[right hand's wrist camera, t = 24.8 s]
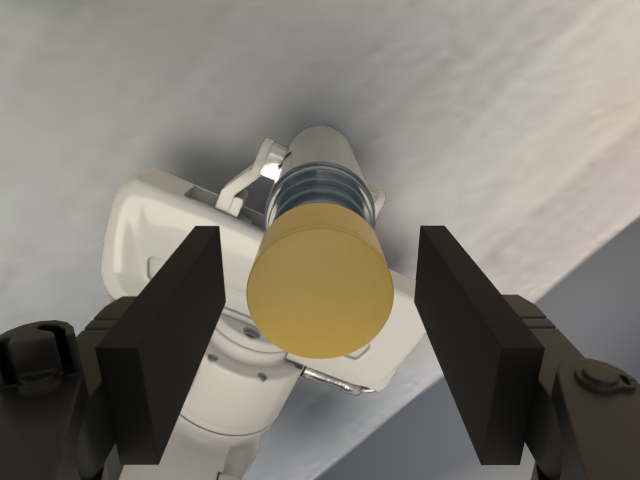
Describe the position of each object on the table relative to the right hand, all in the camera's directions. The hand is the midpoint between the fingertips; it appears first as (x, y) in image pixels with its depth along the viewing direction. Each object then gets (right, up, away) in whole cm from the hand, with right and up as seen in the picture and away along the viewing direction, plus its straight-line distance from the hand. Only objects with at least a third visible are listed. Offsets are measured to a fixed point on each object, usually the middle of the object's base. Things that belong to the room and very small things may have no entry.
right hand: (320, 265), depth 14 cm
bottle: (0, +7, +17) cm, 19 cm away
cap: (0, -1, -2) cm, 2 cm away
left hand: (0, +5, +11) cm, 12 cm away
